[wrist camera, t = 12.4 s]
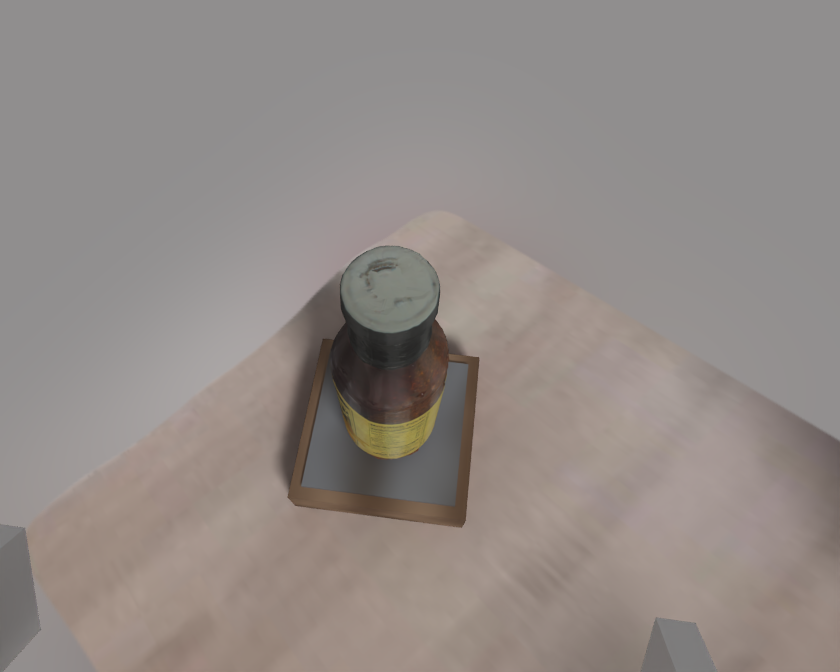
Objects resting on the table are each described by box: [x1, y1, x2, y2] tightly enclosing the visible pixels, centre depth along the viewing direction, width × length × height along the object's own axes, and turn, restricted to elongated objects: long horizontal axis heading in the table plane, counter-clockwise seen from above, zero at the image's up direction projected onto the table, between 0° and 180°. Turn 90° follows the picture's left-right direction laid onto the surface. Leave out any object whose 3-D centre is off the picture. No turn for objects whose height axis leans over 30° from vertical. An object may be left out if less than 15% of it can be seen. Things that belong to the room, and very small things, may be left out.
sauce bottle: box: [330, 246, 449, 460], centre depth 32 cm, size 6×6×20 cm
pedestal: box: [288, 339, 479, 528], centre depth 43 cm, size 12×12×3 cm
